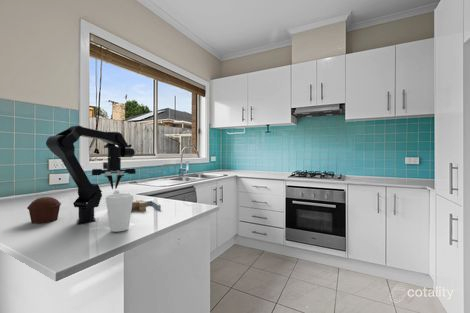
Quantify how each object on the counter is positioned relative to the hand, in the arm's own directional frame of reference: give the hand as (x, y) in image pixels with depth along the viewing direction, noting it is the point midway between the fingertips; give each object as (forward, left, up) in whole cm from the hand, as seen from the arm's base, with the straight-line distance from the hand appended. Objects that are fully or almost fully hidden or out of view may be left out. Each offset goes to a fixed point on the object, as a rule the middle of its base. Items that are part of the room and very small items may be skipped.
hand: (114, 189), depth 110 cm
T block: (0, -10, -12) cm, 15 cm away
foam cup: (-28, +1, -12) cm, 31 cm away
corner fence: (0, -17, -12) cm, 20 cm away
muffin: (+3, +26, -12) cm, 29 cm away
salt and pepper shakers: (+1, -2, -12) cm, 12 cm away
